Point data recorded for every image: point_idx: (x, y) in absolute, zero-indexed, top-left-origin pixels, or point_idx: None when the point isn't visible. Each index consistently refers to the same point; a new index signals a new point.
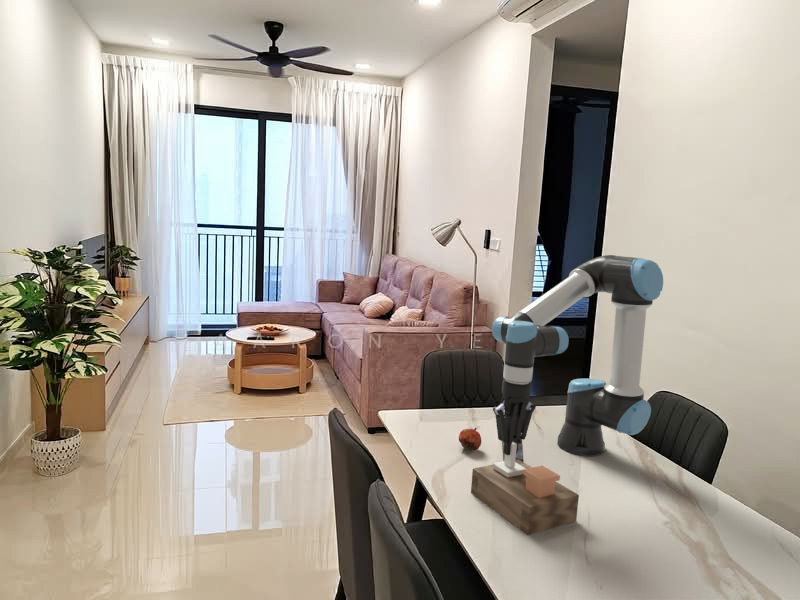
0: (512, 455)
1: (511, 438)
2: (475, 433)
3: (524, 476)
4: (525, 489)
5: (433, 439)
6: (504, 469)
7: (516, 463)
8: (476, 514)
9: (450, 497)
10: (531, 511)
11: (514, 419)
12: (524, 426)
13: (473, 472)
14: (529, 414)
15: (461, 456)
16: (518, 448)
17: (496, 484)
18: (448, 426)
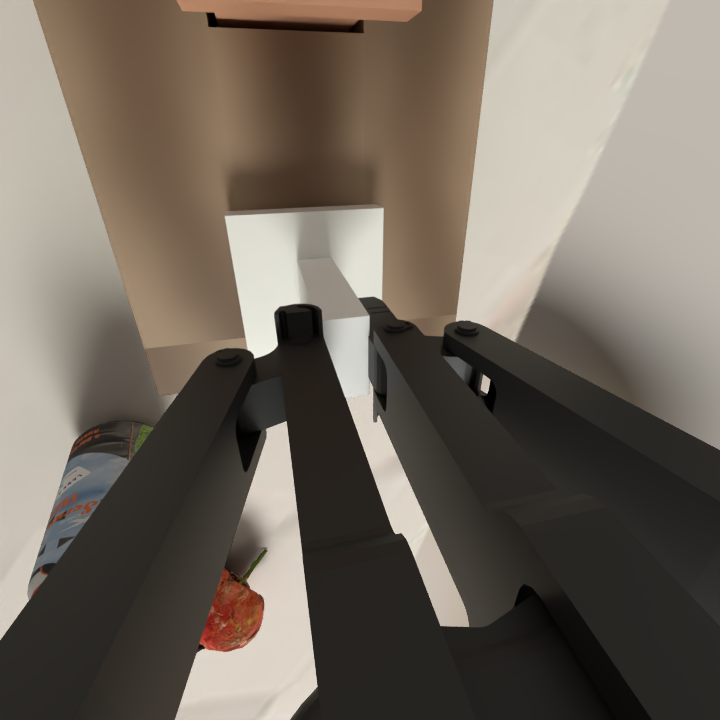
0: (337, 283)
1: (403, 344)
2: (214, 625)
3: (252, 191)
4: (354, 22)
5: (303, 617)
6: (371, 257)
7: (247, 307)
8: (500, 156)
9: (491, 304)
10: None
11: (517, 507)
12: (213, 454)
13: None
14: (58, 686)
15: (281, 533)
16: (93, 496)
17: (472, 163)
18: (211, 680)
